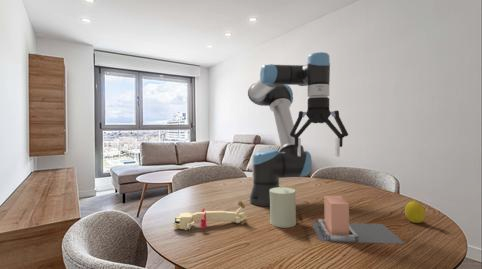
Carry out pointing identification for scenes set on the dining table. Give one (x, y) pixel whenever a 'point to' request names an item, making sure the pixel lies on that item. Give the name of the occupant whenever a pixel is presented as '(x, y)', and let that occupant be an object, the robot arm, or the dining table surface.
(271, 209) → the can
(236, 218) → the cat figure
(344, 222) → the terracotta block
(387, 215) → the dining table surface
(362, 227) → the pocket plate
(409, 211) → the lemon
